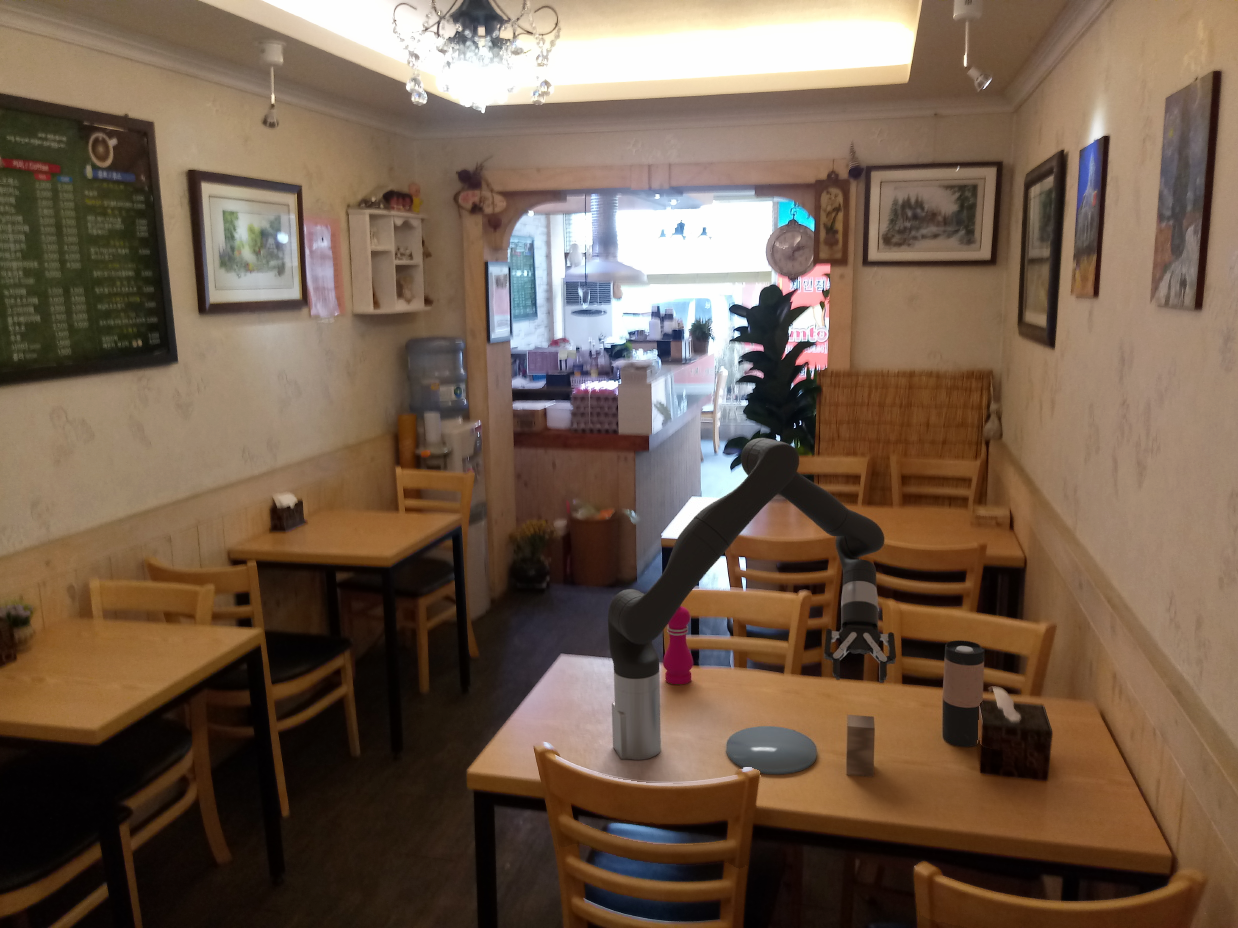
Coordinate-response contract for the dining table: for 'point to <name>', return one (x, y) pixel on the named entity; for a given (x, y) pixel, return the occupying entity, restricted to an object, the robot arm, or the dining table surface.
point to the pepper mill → (678, 649)
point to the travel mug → (962, 692)
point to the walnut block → (860, 745)
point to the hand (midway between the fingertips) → (859, 679)
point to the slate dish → (771, 749)
